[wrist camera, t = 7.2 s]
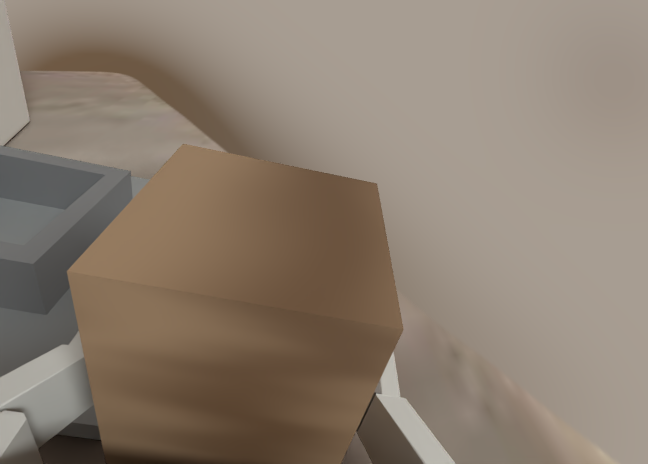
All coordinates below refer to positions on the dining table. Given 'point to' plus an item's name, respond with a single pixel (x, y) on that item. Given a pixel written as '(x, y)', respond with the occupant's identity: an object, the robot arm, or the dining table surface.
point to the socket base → (50, 251)
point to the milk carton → (10, 84)
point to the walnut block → (236, 314)
